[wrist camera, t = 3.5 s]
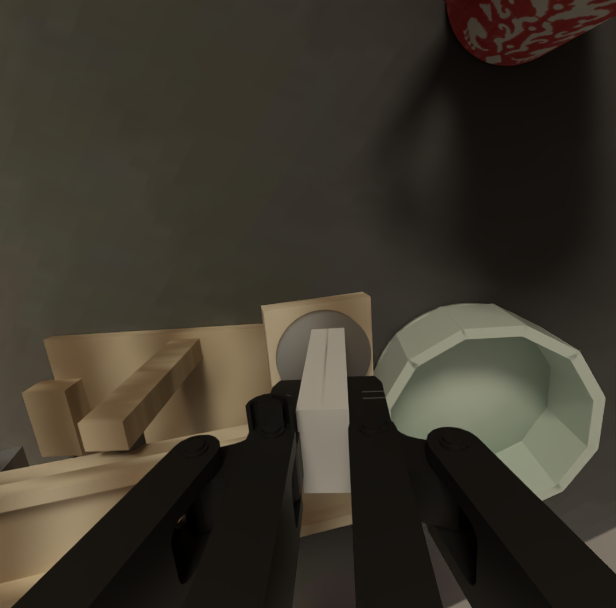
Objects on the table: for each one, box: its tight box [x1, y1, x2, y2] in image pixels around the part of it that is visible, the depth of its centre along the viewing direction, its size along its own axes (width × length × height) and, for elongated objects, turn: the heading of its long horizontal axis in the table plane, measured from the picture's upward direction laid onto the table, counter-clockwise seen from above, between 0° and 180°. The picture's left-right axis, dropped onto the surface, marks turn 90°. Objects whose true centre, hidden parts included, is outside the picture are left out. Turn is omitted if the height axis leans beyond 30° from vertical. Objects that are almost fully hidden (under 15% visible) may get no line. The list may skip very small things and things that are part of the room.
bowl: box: [373, 303, 605, 500], centre depth 24 cm, size 12×12×5 cm
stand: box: [22, 324, 271, 457], centre depth 23 cm, size 17×11×11 cm, turn 95°
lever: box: [0, 292, 373, 608], centre depth 18 cm, size 24×12×6 cm, turn 95°
